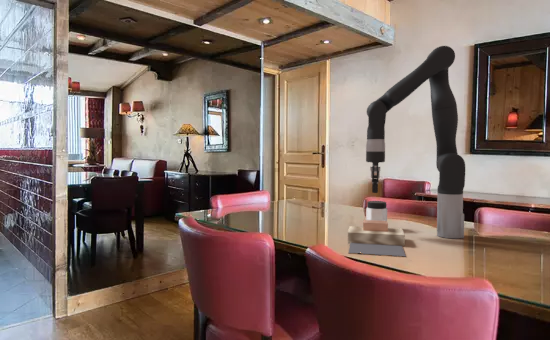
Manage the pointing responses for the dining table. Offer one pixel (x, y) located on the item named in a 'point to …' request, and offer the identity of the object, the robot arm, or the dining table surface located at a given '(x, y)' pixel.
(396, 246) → the mat
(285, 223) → the dining table surface
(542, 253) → the dining table surface
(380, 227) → the brown rectangular block
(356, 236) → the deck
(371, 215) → the jar
